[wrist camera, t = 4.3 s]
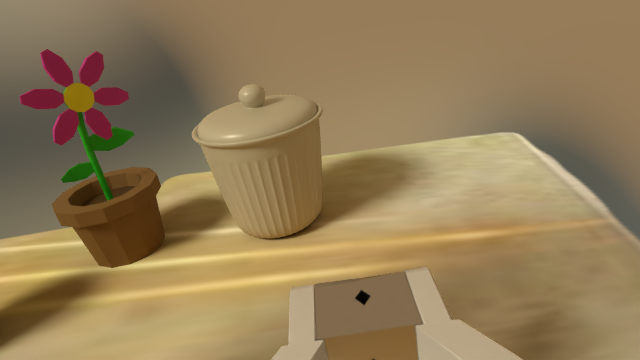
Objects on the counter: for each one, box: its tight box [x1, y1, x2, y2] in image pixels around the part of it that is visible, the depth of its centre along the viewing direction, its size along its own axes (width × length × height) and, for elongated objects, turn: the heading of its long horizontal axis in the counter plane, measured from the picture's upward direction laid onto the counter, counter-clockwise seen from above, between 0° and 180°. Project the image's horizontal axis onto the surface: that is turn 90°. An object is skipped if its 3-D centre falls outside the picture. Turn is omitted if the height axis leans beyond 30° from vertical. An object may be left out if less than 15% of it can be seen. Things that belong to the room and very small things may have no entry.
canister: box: [192, 84, 323, 239], centre depth 61 cm, size 18×18×21 cm
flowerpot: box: [20, 49, 165, 268], centre depth 59 cm, size 14×14×30 cm
